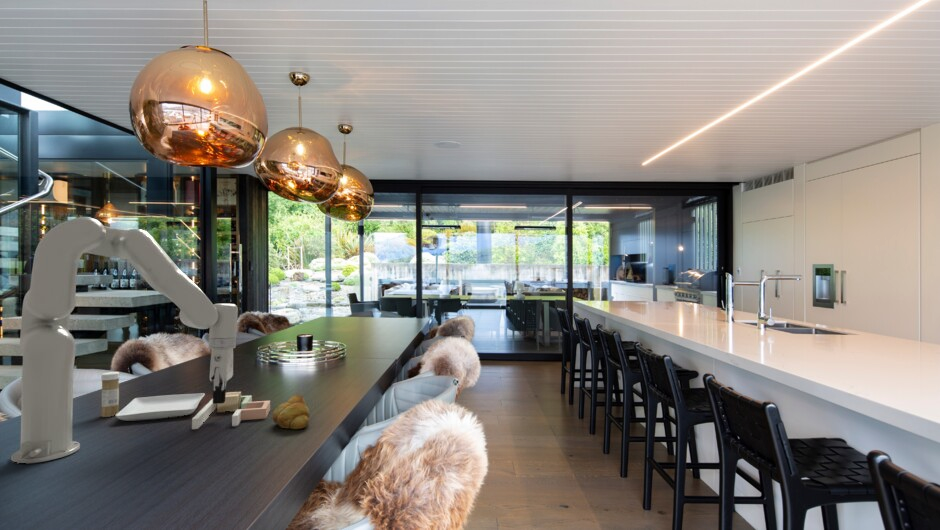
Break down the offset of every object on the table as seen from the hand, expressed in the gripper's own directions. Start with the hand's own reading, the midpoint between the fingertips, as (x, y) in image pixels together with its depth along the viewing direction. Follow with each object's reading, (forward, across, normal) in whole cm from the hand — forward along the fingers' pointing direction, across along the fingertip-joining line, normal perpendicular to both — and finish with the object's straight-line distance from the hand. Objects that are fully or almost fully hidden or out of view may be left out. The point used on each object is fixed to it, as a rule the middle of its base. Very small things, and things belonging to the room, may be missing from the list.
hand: (218, 402), depth 146 cm
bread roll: (+5, -13, -23) cm, 27 cm away
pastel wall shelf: (+5, +3, -5) cm, 8 cm away
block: (+5, +11, -1) cm, 12 cm away
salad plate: (+6, +14, +19) cm, 24 cm away
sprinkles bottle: (+6, +14, +34) cm, 37 cm away
